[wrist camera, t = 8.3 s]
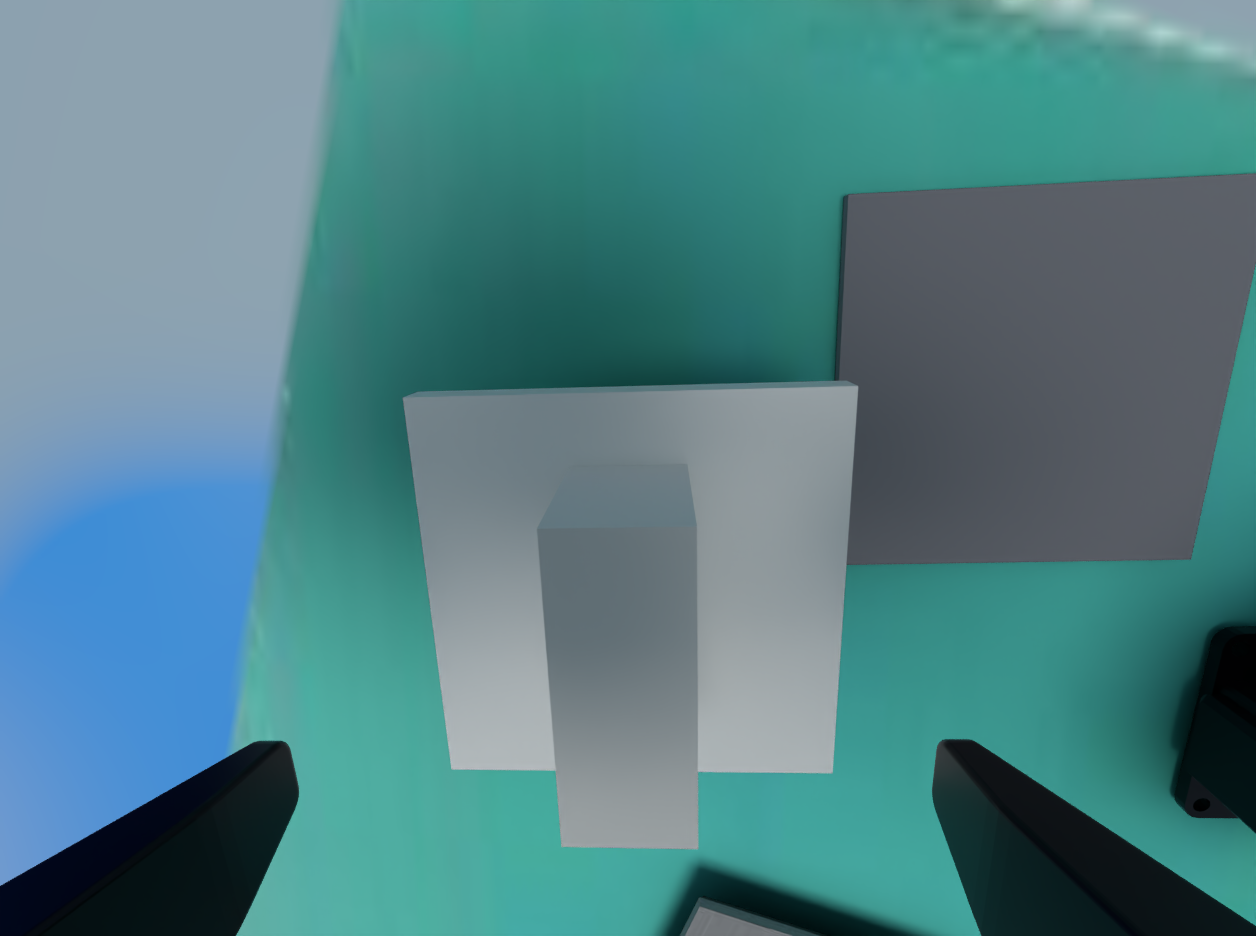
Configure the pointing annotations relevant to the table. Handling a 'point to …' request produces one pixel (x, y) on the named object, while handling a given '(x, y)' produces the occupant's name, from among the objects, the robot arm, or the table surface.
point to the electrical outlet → (736, 922)
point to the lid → (636, 587)
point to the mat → (1040, 365)
